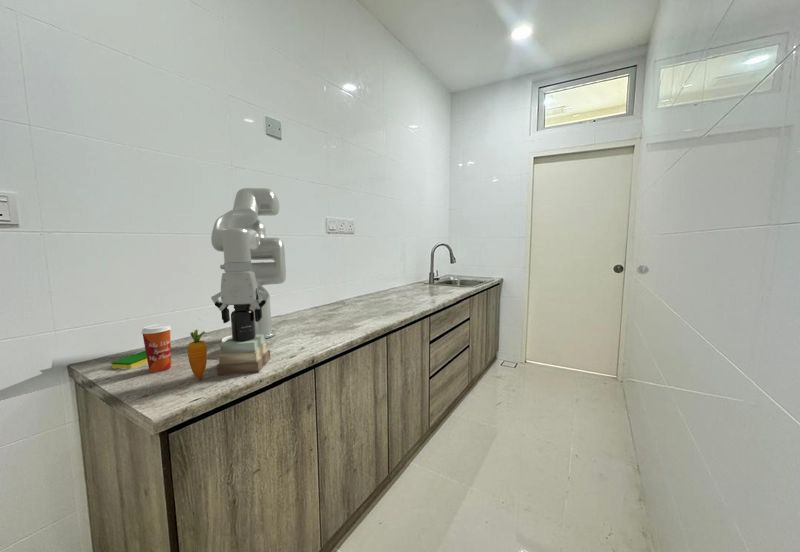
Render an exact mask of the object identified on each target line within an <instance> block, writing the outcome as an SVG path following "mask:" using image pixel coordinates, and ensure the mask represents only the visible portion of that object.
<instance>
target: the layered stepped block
mask: <svg viewBox="0 0 800 552" xmlns="http://www.w3.org/2000/svg"><path fill="white" fill-rule="evenodd" d="M268 346H269V344H268V342H267V341H266V339H265V334H256V336H255V338H254V339H252V340H248V341H234V340H233V339H232V337H231V338H229V339H228V340H226V341H225V342H223V343H222V342H221V344H219V347H220V348H219V349H220V353H219V354H218V364H217V365H216V369H217V371H216V372H217V375H218V376H219V375H221V376H222V375H234V374H235V375H236V374H237V373H239V374H255V373H254V372H256V373H260V372H261V370H262V369H264V367H265V366H266V364H268V362H269V361H270V360H271V350H269V347H268ZM237 375H238V374H237Z"/></svg>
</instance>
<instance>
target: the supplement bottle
mask: <svg viewBox="0 0 800 552" xmlns="http://www.w3.org/2000/svg"><path fill="white" fill-rule="evenodd" d="M250 307H251V304H245V305H233V309H234V310H233V311H231V313H230V322H231V323H230V325H231V335H232V339H233V340H234V341H248V340H252V339H254V338H255V336H256V332H255V314H254V311H253V310H252V309H250Z"/></svg>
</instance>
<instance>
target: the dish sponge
mask: <svg viewBox="0 0 800 552" xmlns="http://www.w3.org/2000/svg"><path fill="white" fill-rule="evenodd" d="M146 363H147V364H148V361H147V356H146V351H145V350H143V351H140V352H137V353H135V354H131V355H129V356H126V357H123V358H120V359H118V360H115V361H112V362H111V369H112V368H127V369H126V370H131V369H130V368H132V369H134V368H136V366H137V367H139V366H142V365H144V364H146ZM141 364H142V365H141ZM133 367H134V368H133Z"/></svg>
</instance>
